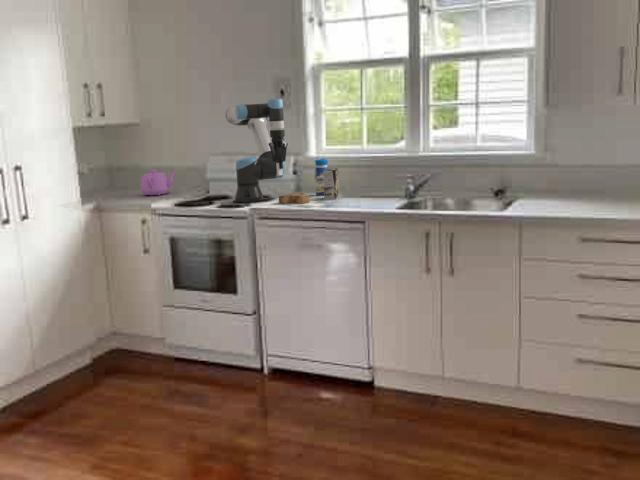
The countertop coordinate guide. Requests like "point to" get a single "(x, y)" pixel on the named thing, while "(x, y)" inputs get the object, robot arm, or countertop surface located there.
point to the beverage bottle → (320, 175)
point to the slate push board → (308, 205)
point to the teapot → (156, 183)
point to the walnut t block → (294, 198)
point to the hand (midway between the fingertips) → (280, 175)
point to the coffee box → (331, 184)
